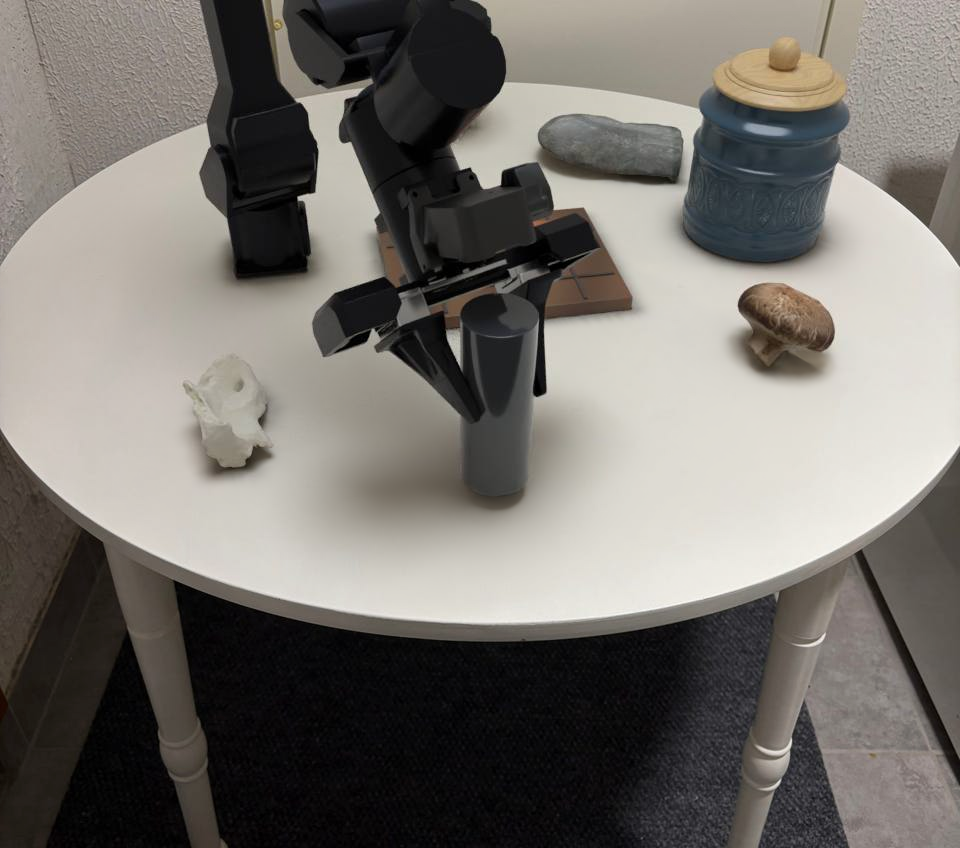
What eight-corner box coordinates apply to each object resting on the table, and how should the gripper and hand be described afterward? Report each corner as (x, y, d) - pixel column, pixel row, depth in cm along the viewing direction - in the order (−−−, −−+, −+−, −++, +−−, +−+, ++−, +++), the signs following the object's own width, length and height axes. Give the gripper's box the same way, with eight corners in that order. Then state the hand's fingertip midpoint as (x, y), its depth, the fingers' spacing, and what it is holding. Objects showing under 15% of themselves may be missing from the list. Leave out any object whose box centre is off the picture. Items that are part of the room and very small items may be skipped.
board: (400, 333, 87) (399, 319, 86) (376, 237, 98) (375, 224, 97) (631, 309, 90) (633, 295, 89) (583, 218, 101) (584, 205, 100)
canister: (694, 266, 95) (727, 69, 82) (669, 197, 104) (696, 11, 92) (835, 264, 95) (889, 68, 83) (798, 195, 104) (842, 10, 92)
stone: (529, 171, 107) (673, 201, 107) (536, 136, 104) (684, 167, 104) (541, 116, 114) (675, 144, 114) (548, 81, 111) (686, 110, 111)
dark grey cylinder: (467, 500, 70) (467, 341, 61) (454, 454, 74) (453, 296, 65) (536, 491, 71) (547, 333, 62) (521, 446, 74) (529, 289, 65)
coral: (260, 379, 82) (251, 332, 79) (283, 463, 75) (275, 414, 72) (187, 392, 81) (176, 344, 78) (203, 478, 74) (192, 430, 71)
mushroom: (747, 355, 79) (786, 278, 78) (700, 334, 86) (736, 264, 85) (826, 393, 82) (866, 319, 81) (775, 370, 89) (811, 302, 88)
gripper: (314, 166, 55) (428, 442, 56) (596, 88, 62) (691, 333, 63) (268, 235, 65) (366, 468, 66) (515, 161, 72) (599, 371, 74)
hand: (508, 409), depth 67 cm, fingers closed on dark grey cylinder, 5 cm apart
